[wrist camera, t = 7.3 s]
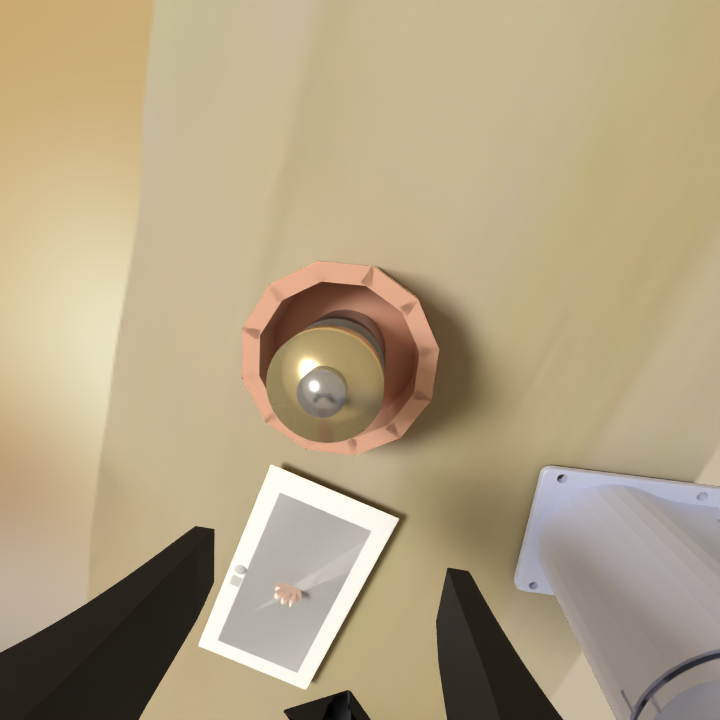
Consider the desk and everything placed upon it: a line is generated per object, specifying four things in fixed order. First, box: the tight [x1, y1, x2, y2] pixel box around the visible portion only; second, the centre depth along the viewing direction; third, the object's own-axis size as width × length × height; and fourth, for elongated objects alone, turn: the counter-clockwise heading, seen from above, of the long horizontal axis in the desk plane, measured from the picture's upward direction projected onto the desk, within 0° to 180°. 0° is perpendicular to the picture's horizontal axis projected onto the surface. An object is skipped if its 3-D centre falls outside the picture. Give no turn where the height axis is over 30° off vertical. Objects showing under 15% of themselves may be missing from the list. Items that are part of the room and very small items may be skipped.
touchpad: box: [198, 464, 399, 690], centre depth 22 cm, size 8×15×2 cm, turn 157°
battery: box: [266, 309, 386, 443], centre depth 15 cm, size 4×4×7 cm
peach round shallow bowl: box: [242, 261, 439, 455], centre depth 17 cm, size 9×9×3 cm
